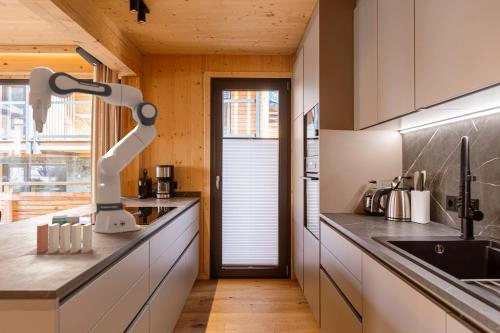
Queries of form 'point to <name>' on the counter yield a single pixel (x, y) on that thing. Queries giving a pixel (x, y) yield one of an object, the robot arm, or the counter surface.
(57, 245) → the domino
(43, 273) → the counter surface
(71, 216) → the light bulb box
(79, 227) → the domino
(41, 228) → the domino
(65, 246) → the domino
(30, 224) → the counter surface
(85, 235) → the domino
